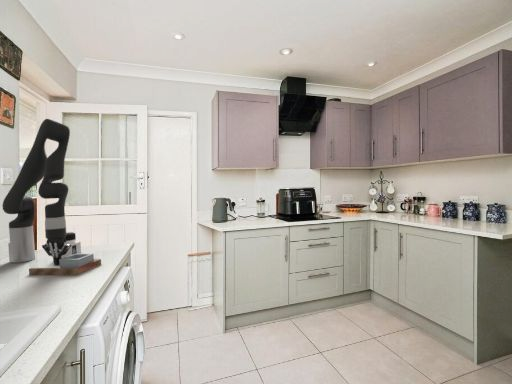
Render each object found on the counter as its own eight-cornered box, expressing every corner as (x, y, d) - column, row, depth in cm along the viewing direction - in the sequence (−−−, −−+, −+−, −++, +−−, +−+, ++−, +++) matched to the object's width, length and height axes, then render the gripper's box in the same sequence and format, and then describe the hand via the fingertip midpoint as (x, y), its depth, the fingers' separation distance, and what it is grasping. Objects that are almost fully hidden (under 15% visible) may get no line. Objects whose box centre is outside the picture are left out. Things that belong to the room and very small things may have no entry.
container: (81, 255, 142) (80, 231, 141) (70, 260, 134) (68, 234, 134) (68, 255, 143) (66, 231, 142) (55, 260, 135) (54, 234, 134)
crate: (60, 272, 116) (59, 259, 115) (76, 266, 125) (75, 253, 124) (79, 273, 115) (78, 259, 114) (94, 266, 124) (93, 253, 123)
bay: (29, 274, 114) (28, 268, 114) (58, 263, 129) (58, 258, 129) (76, 275, 111) (76, 269, 111) (101, 264, 126) (100, 258, 126)
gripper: (34, 228, 117) (36, 267, 118) (62, 228, 116) (64, 268, 116) (49, 225, 124) (51, 262, 125) (75, 225, 123) (77, 262, 124)
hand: (57, 264), depth 121 cm, fingers closed
